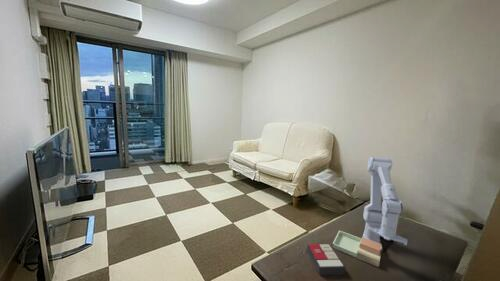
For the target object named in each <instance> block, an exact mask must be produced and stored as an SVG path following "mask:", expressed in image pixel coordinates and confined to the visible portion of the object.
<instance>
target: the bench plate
mask: <svg viewBox="0 0 500 281" xmlns="http://www.w3.org/2000/svg"><path fill="white" fill-rule="evenodd" d="M360 238H361V240H362V237H360ZM360 243H361V241H360ZM381 253H382V245H381V248H380V254H379V255H376V254H374V253H371V252H368V251H366V250H363V249H361V248H360V244H359V248H358V251H357V256H356V259H358V260H360V261H362V262H365V263H368V264H370V265H372V266H374V267H377V268H380V261H381V255H382V254H381Z"/></svg>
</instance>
